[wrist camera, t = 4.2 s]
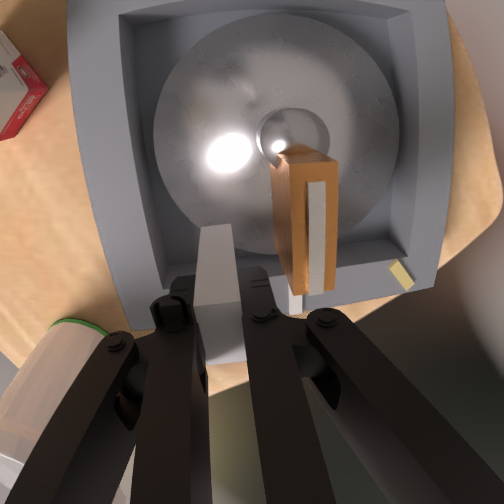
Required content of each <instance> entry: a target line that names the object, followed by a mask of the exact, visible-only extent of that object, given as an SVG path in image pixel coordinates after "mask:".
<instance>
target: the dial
mask: <svg viewBox="0 0 504 504" xmlns="http://www.w3.org/2000/svg"><path fill="white" fill-rule="evenodd" d="M399 136H400V133H399V119H398V113H397V108H396V104H395V100H394V97H393V94H392V91H391V89H390V87H389V85H388V83H387V80H386V78H385V76H384V75H383V73H382V72H381V70H380V69H379V67H378V65H377V64H376V63H375V61H374V60H373V59H372V58H371V57H370V56H369V54H368V53H367V52H366V51H365V50H364V49H363V48H362V47H361V46H360V45H358V44H357V43H356V42H355V41H354V40H352V39H351V38H350V37H348V36H347V35H345V34H344V33H342V32H341V31H339V30H337V29H335V28H333V27H331V26H329V25H327V24H325V23H322V22H319V21H317V20H314V19H311V18H307V17H302V16H297V15H289V14H264V15H256V16H251V17H246V18H242V19H239V20H236V21H233V22H231V23H228V24H225V25H223V26H221V27H220V28H218V29H216V30H214V31H212V32H210V33H209V34H207V35H206V36H205V37H203V38H202V39H201V40H199V41H198V42H197V43H195V44H194V45H193V46H192V47H191V48H190V49H189V50H188V51H187V52H186V53H185V54H184V55H183V56H182V57H181V59H180V60H179V61H178V63H177V64H176V65H175V67H174V68H173V70H172V71H171V73H170V75H169V77H168V78H167V80H166V82H165V84H164V86H163V89H162V91H161V94H160V97H159V100H158V103H157V108H156V112H155V117H154V131H153V139H154V151H155V156H156V161H157V165H158V169H159V172H160V174H161V177H162V180H163V182H164V185H165V186H166V188H167V190H168V192H169V194H170V196H171V197H172V199H173V200H174V202H175V203H176V204H177V206H178V207H179V209H180V210H181V211H182V212H183V213H184V214H185V215H186V216H187V217H188V218H189V220H190V221H191V222H192V223H194V224H195V225H196V226H197V227H199V228H200V229H201V227H206V226H214V225H223V224H231V228H232V236H233V244H234V247H235V248H238V249H241V250H244V251H248V252H254V253H260V254H273V255H278V257H279V260H280V262H281V265H282V268H283V270H284V273H285V275H286V278H287V281H288V283H289V286H290V289H291V291H292V294H293V296H297V295H304V294H308V295H309V296H312V295H318V294H323V293H324V291H330V290H335V276H336V257H337V238H339V237H341V236H342V235H344V234H346V233H347V232H349V231H350V230H351V229H352V228H354V227H355V226H356V225H358V224H359V223H360V222H361V221H362V220H363V219H364V218H365V217H366V216H367V215H368V214H369V213H370V211H371V210H372V209H373V208H374V206H375V205H376V204H377V203H378V201H379V200H380V198H381V196H382V195H383V193H384V192H385V190H386V188H387V185H388V183H389V181H390V179H391V177H392V174H393V171H394V168H395V164H396V160H397V155H398V150H399Z"/></svg>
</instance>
